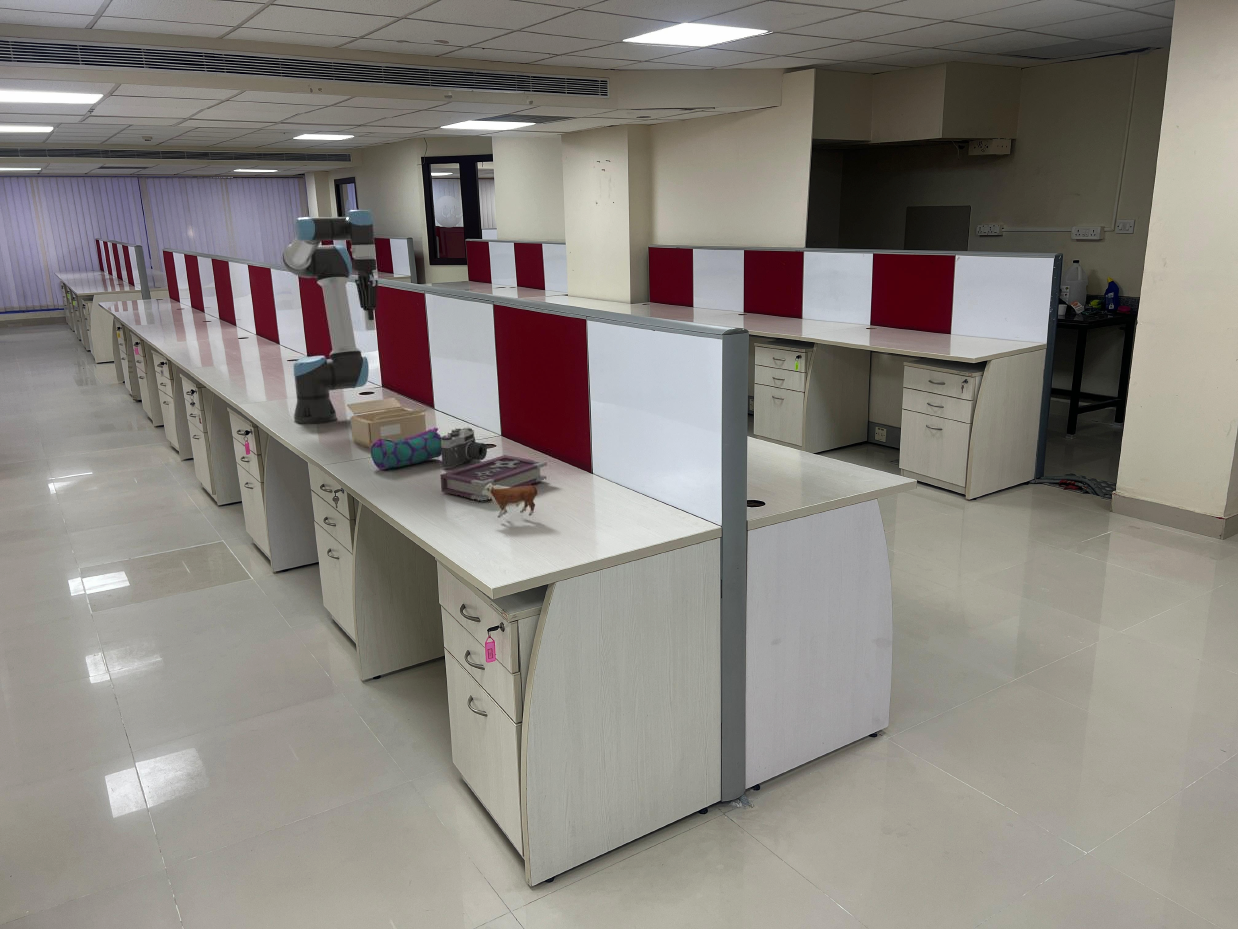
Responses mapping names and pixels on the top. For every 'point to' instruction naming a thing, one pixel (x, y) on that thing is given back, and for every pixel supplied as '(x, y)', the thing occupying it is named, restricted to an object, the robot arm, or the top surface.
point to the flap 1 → (373, 406)
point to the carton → (386, 426)
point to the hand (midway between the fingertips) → (370, 329)
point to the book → (492, 476)
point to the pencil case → (406, 450)
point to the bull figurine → (511, 496)
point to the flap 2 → (400, 414)
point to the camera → (461, 447)
